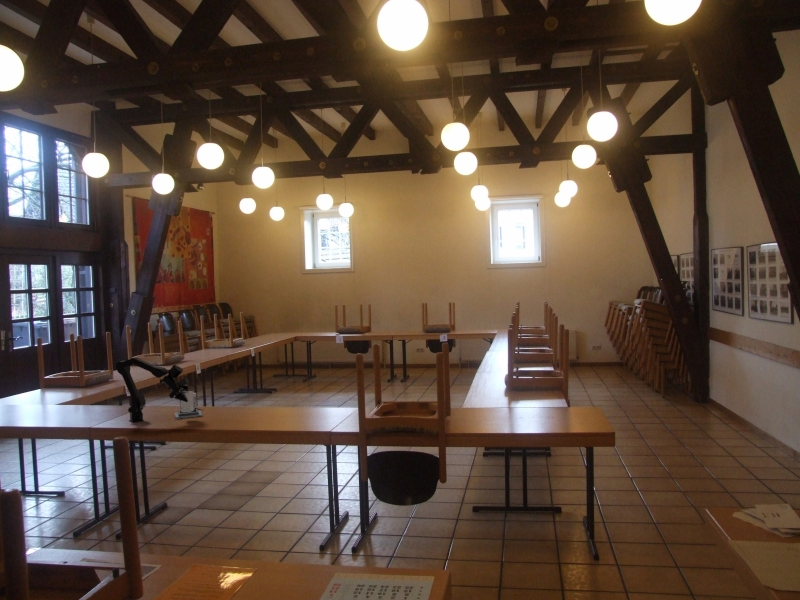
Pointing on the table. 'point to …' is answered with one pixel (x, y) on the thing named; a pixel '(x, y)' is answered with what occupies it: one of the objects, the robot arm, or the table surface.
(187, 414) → the dock
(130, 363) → the robot arm
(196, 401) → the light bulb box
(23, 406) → the table surface
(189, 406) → the block
